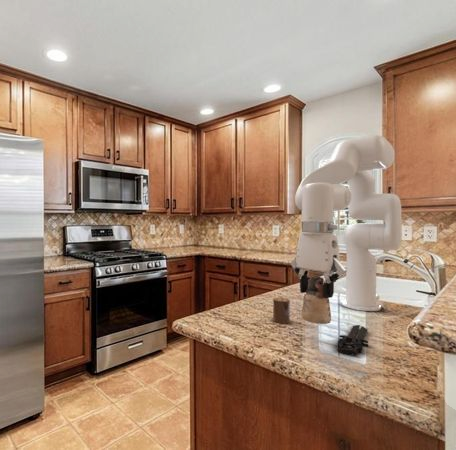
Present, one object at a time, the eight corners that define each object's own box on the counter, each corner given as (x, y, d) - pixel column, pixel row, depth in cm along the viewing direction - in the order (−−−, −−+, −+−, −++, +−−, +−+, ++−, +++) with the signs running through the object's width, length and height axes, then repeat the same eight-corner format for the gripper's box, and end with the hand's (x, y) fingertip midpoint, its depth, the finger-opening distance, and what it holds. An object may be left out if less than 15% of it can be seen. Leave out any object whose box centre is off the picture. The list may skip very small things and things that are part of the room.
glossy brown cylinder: (280, 317, 104) (280, 296, 104) (293, 322, 100) (293, 300, 100) (269, 320, 102) (270, 298, 101) (282, 324, 97) (283, 302, 97)
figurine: (324, 316, 88) (325, 274, 88) (335, 325, 81) (337, 279, 81) (298, 314, 89) (299, 273, 89) (306, 323, 82) (308, 278, 82)
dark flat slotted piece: (354, 326, 96) (354, 322, 96) (379, 331, 92) (379, 327, 92) (328, 349, 78) (329, 344, 78) (359, 358, 74) (359, 352, 74)
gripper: (358, 229, 79) (357, 300, 79) (297, 227, 94) (296, 287, 94) (341, 229, 75) (339, 304, 76) (281, 228, 90) (280, 290, 91)
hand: (316, 294), depth 85 cm, fingers closed on figurine, 6 cm apart
